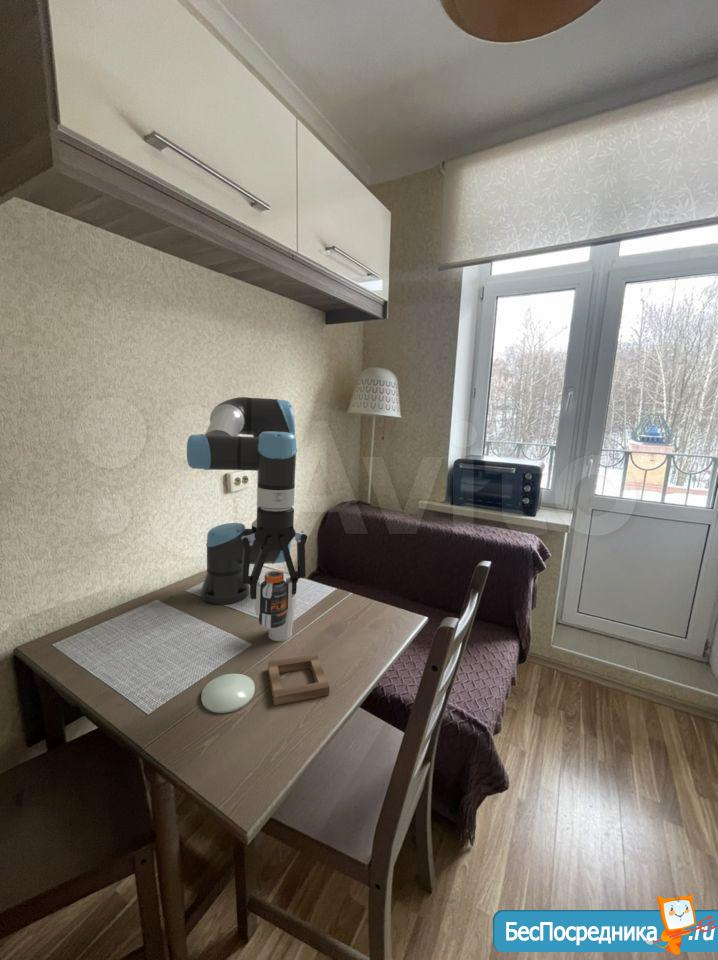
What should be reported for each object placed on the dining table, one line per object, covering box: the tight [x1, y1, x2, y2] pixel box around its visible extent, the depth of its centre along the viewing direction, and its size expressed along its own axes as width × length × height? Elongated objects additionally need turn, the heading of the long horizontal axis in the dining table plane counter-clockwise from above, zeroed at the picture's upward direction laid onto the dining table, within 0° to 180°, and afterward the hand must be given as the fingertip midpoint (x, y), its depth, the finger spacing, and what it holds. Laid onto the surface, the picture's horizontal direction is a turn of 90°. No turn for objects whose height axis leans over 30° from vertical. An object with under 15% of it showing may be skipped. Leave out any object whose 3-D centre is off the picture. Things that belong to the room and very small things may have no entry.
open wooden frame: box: [267, 654, 330, 706], centre depth 89 cm, size 12×12×2 cm
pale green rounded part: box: [201, 673, 256, 714], centre depth 84 cm, size 11×11×1 cm
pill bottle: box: [258, 570, 288, 629], centre depth 83 cm, size 6×6×11 cm
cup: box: [268, 593, 297, 642], centre depth 106 cm, size 8×8×12 cm
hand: (272, 609), depth 84 cm, fingers closed on pill bottle, 6 cm apart
